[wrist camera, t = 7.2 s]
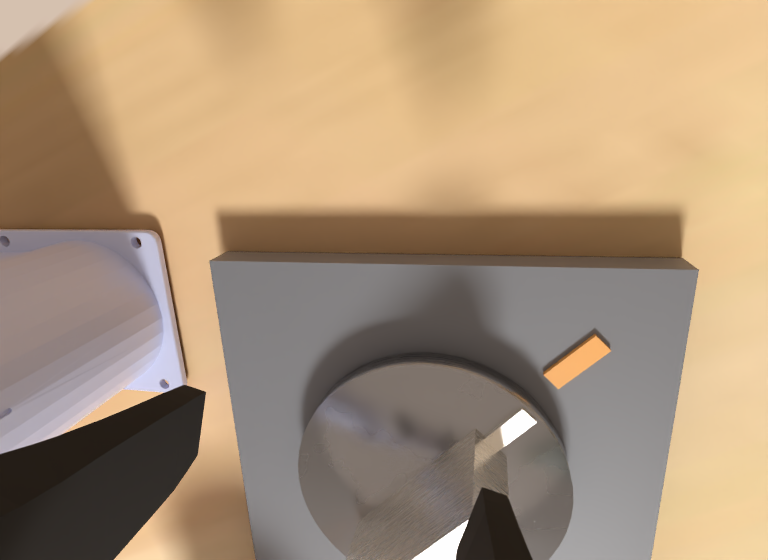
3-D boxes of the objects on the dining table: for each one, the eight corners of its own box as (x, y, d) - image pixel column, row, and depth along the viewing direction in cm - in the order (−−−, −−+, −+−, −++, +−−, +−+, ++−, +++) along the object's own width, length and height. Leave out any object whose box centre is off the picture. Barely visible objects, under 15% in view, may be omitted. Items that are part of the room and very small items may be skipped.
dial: (437, 607, 23) (422, 750, 18) (261, 456, 22) (192, 559, 17) (630, 486, 19) (683, 624, 14) (423, 297, 18) (397, 368, 13)
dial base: (272, 568, 27) (259, 596, 25) (227, 251, 21) (206, 262, 20) (625, 623, 23) (636, 660, 22) (682, 257, 18) (701, 271, 16)
